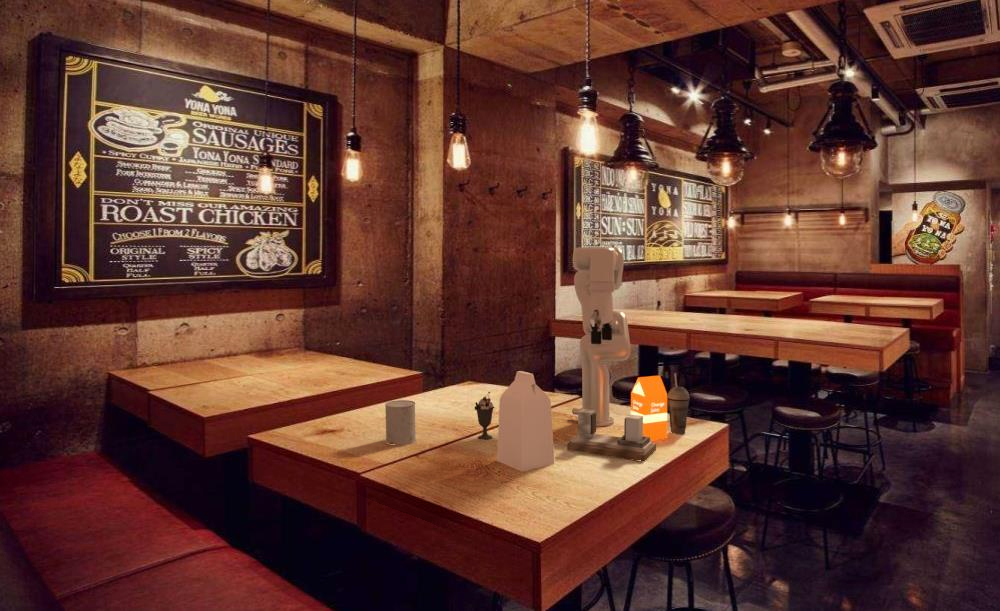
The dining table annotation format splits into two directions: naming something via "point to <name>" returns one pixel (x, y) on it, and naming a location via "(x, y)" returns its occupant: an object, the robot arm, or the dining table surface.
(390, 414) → the gray can
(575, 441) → the rail board
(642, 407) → the orange juice
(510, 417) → the milk
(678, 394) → the beverage cup
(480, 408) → the sundae
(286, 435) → the dining table surface
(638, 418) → the white block dark cap
